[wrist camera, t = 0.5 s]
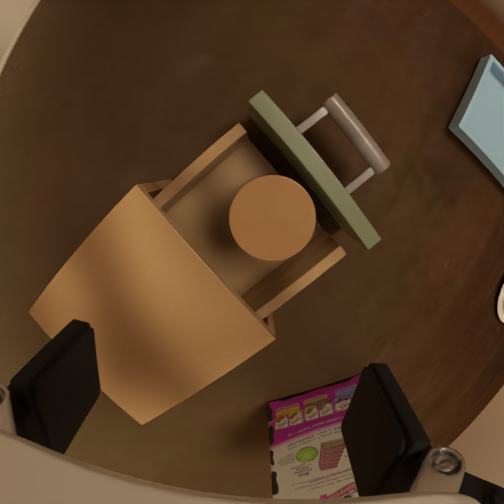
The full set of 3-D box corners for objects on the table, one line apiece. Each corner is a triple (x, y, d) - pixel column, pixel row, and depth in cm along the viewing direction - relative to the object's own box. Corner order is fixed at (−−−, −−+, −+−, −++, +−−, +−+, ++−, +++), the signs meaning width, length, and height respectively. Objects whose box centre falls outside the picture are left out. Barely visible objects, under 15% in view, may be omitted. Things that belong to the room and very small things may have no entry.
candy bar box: (279, 429, 34) (286, 547, 18) (266, 401, 33) (269, 529, 17) (370, 401, 33) (415, 512, 17) (364, 371, 32) (417, 488, 16)
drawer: (302, 76, 24) (316, 50, 18) (391, 190, 26) (428, 198, 20) (142, 213, 27) (109, 228, 21) (234, 316, 30) (229, 356, 23)
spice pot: (226, 198, 26) (210, 214, 17) (270, 160, 25) (278, 156, 16) (263, 241, 27) (267, 277, 18) (307, 205, 26) (333, 224, 17)
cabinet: (170, 178, 27) (135, 184, 19) (271, 292, 30) (276, 339, 22) (74, 278, 30) (28, 312, 22) (164, 371, 32) (141, 425, 24)
